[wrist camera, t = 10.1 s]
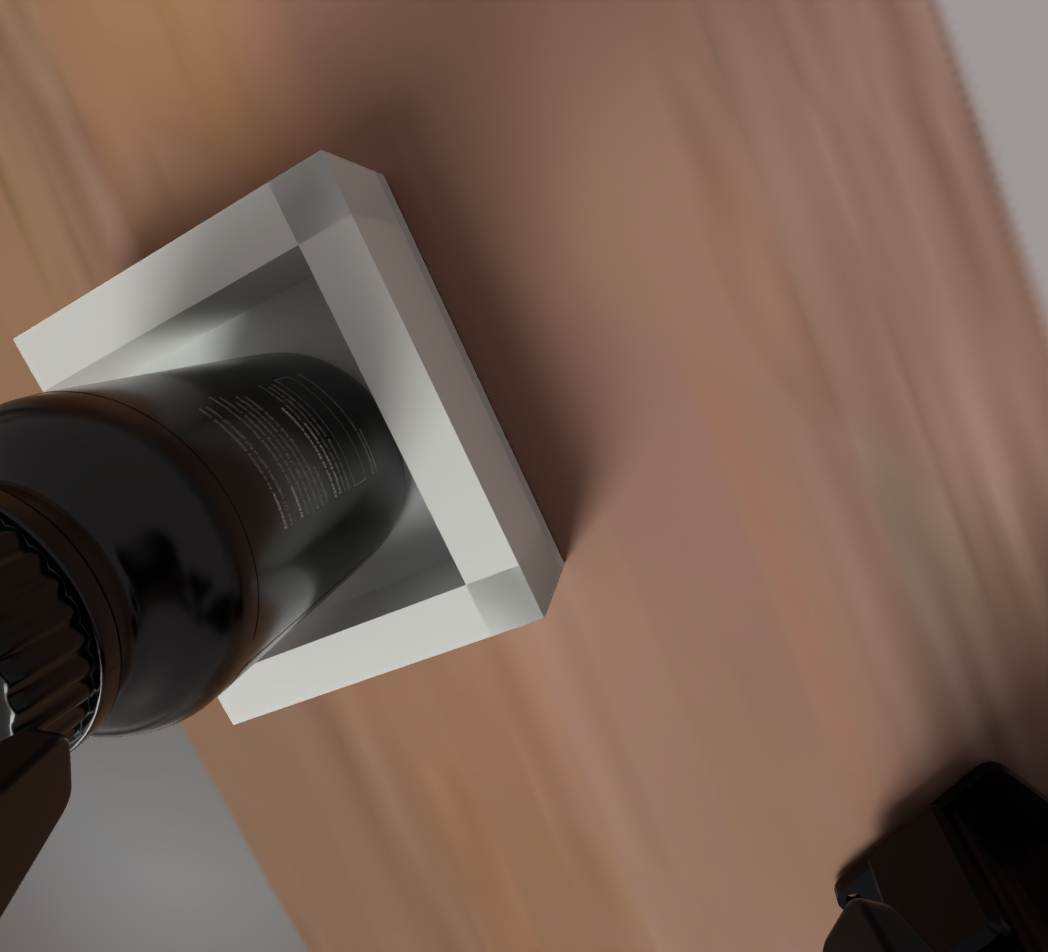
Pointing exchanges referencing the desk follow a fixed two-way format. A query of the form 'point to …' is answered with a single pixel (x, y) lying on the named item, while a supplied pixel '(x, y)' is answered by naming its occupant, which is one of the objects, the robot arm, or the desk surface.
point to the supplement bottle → (177, 533)
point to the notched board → (374, 361)
